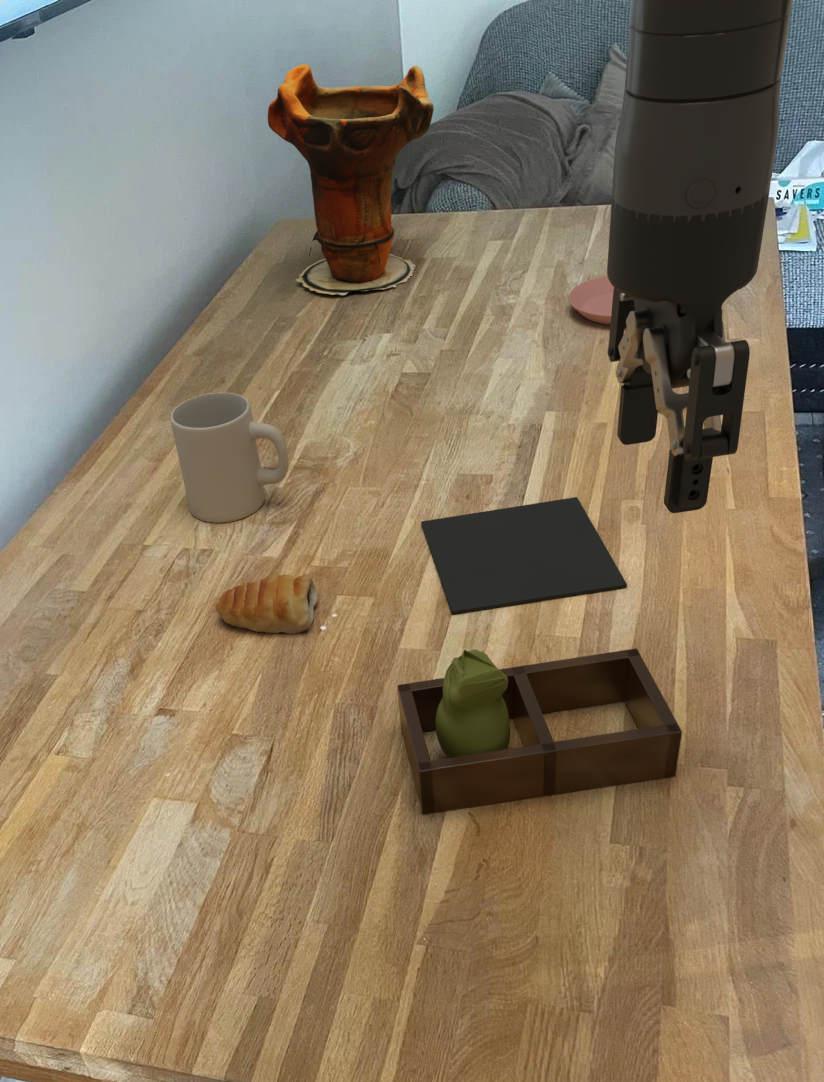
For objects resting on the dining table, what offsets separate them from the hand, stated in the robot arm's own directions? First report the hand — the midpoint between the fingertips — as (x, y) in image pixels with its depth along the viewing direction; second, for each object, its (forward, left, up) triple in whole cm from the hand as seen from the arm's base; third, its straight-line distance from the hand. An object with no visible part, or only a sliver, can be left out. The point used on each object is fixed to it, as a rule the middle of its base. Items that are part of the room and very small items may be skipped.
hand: (658, 472), depth 65 cm
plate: (-26, -84, -25) cm, 92 cm away
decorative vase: (+5, -112, -25) cm, 115 cm away
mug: (+27, -49, -25) cm, 61 cm away
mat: (+1, -31, -25) cm, 40 cm away
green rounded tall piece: (+11, -4, -25) cm, 28 cm away
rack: (+6, -4, -25) cm, 26 cm away
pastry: (+25, -27, -25) cm, 44 cm away
